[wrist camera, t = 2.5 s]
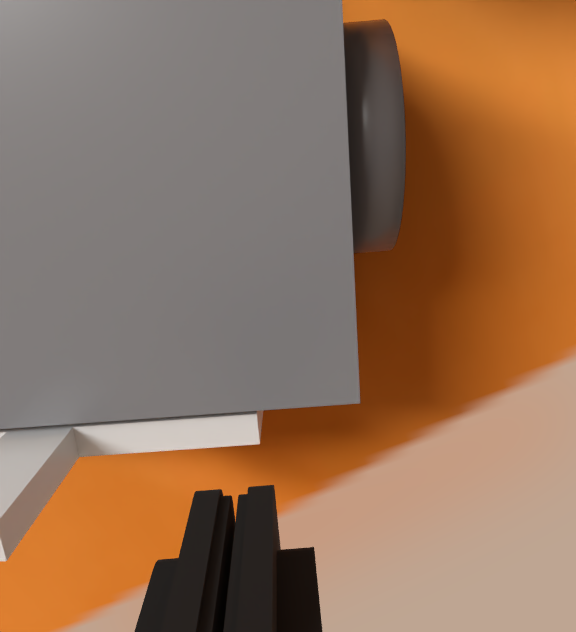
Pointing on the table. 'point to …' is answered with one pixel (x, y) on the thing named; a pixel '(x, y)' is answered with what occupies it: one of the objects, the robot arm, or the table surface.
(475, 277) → the table surface
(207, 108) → the housing
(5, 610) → the table surface
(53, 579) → the table surface
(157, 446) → the hatch
